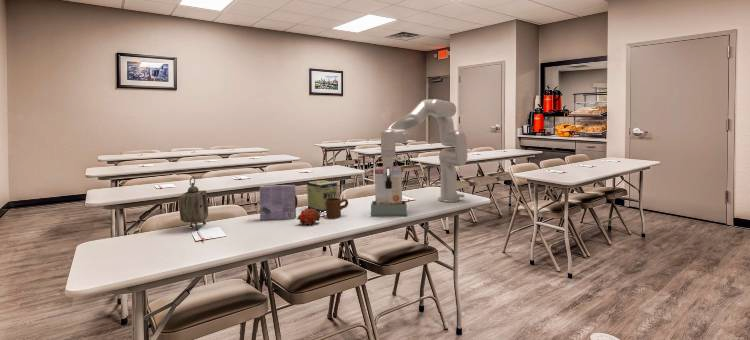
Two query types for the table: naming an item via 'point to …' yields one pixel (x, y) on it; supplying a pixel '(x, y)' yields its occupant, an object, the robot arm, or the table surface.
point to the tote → (389, 209)
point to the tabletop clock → (193, 205)
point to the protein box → (320, 194)
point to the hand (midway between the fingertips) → (388, 187)
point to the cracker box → (388, 195)
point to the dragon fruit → (309, 216)
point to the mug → (335, 207)
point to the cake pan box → (278, 202)
